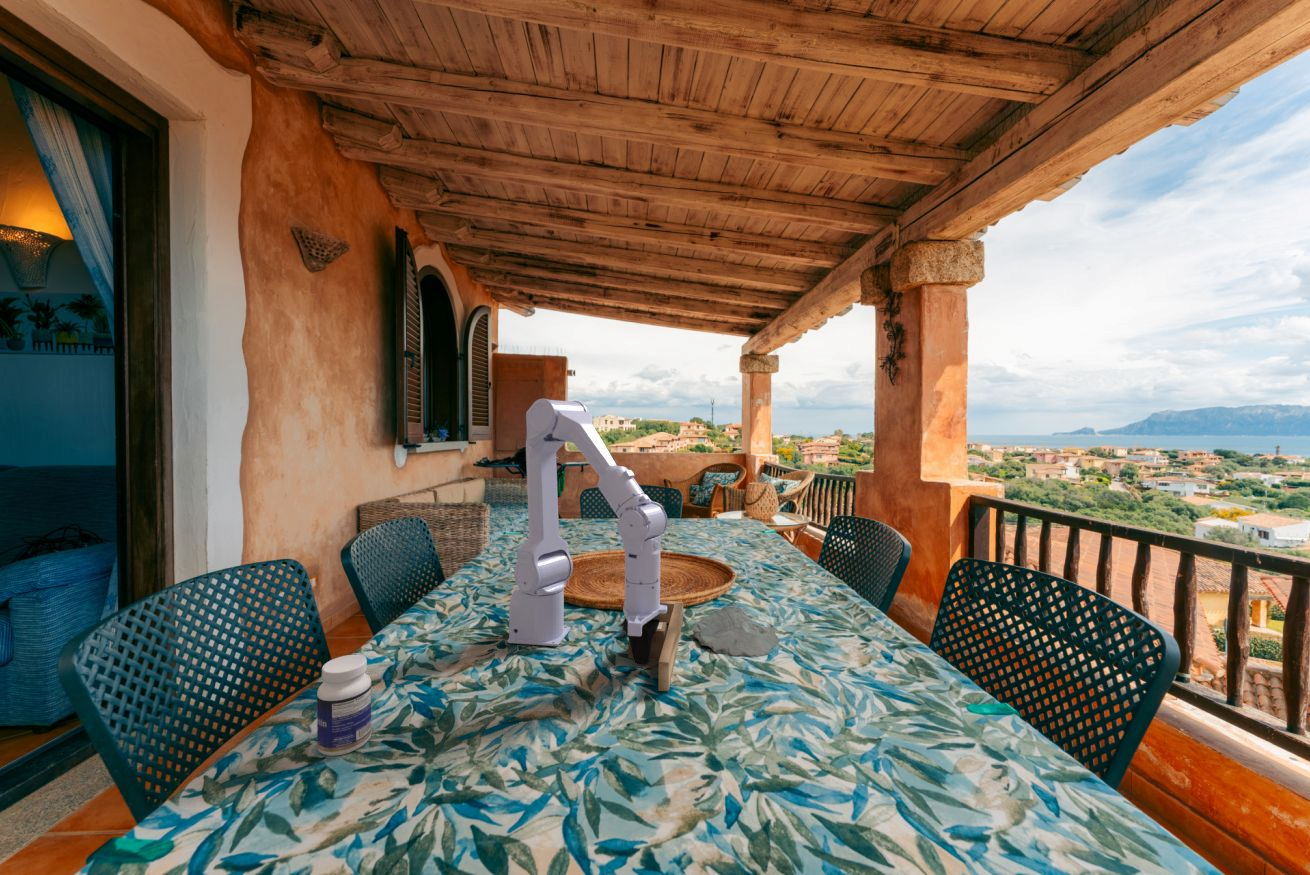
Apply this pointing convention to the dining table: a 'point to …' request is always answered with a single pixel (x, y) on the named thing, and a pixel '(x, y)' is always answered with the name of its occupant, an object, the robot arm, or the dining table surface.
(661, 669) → the wooden bracket
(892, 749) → the dining table surface
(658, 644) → the cabinet block
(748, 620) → the stone
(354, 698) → the pill bottle
